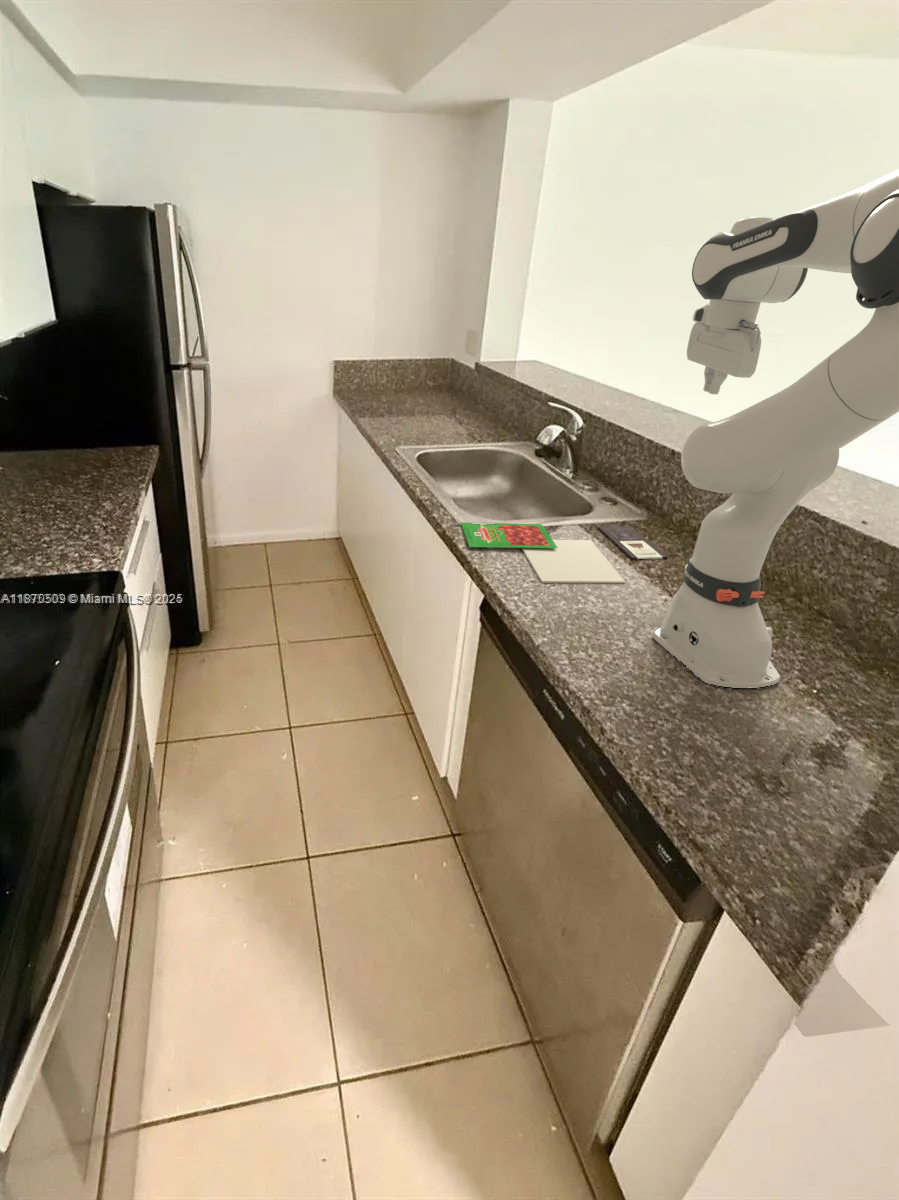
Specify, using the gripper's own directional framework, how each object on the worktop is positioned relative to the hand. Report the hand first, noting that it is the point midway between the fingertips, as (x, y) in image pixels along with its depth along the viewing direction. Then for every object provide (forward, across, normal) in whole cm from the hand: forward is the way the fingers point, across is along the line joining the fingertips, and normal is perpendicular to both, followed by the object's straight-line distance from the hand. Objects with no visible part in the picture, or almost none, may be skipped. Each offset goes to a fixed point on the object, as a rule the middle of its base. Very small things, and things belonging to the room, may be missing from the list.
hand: (710, 392), depth 129 cm
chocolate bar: (+38, +10, +4) cm, 39 cm away
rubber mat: (+37, 0, +23) cm, 44 cm away
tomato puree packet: (+36, +12, +24) cm, 45 cm away
